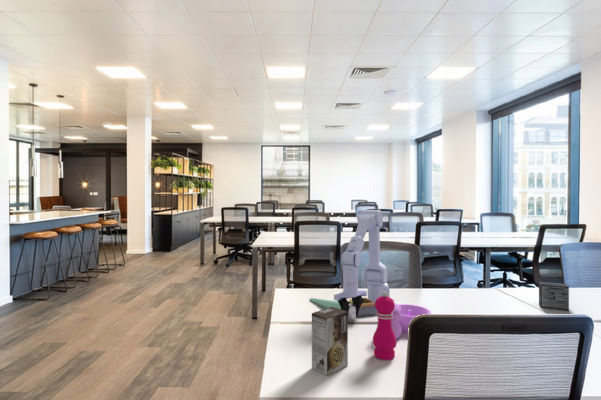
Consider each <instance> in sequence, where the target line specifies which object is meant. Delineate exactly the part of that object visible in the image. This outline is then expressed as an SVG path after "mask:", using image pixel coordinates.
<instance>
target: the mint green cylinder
mask: <svg viewBox="0 0 601 400" xmlns="http://www.w3.org/2000/svg"><path fill="white" fill-rule="evenodd" d="M309 301H310V302H312V303H315V304H317V305H318V306H321V307H323V309H326V308H329V307H335V308H339V309H341V307H340V305H339V303H338V301H336V300H330V299H323V298H316V297H315V298H314V297H311V298H309Z"/></svg>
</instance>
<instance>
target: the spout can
mask: <svg viewBox="0 0 601 400" xmlns="http://www.w3.org/2000/svg"><path fill="white" fill-rule="evenodd" d="M347 321H348V323H355V322H356V321H357V317H356V305H355V304H349V306H348V317H347Z"/></svg>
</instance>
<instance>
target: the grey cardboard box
mask: <svg viewBox="0 0 601 400" xmlns="http://www.w3.org/2000/svg"><path fill="white" fill-rule="evenodd" d="M348 323H349V322H348V321H347V311H344V310H341V309H339V308H335V307H329V308H323V309H321V310H318V311H315V312H312V313H311V369H312V370H315V371H316V372H319V373H321V374H323V375H325V376H329V375H331V374H333V373H335V372H337V371H339V370H341V369H344V368H345V367H347V366H348V365H349V361H348V359H349V358H348V354H349V353H348V352H349V351H348V349H349V348H348V345H349V344H348V342H349V341H348V340H349V339H348V335H349V333H348V328H349V327H348Z"/></svg>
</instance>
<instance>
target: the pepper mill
mask: <svg viewBox="0 0 601 400" xmlns="http://www.w3.org/2000/svg"><path fill="white" fill-rule="evenodd" d="M392 299H393V298H392V297H391V296H389V297H388V293H387V292H385V291H384V292H382V296H380V297H378V298H377V299H376V301H375V308H376V309H377V312H376V313H377V315H375V317H376V318H377V326H376V329H375V331H374V333H373V336H372V344H373V346H374V347H375V348H374V349H373V355H374V357H375V358H377V359H379V360H383V361H391V360H393V359H394V358H395V356H396V355H395V354H396V352H395V348H396V347H397V339H396V337H395V335H394V333H393V330H392V326H391V319H392V318H393V313H392V311H393V310H394V308H395V304H394V303H395V300H394V301H393V300H392Z"/></svg>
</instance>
